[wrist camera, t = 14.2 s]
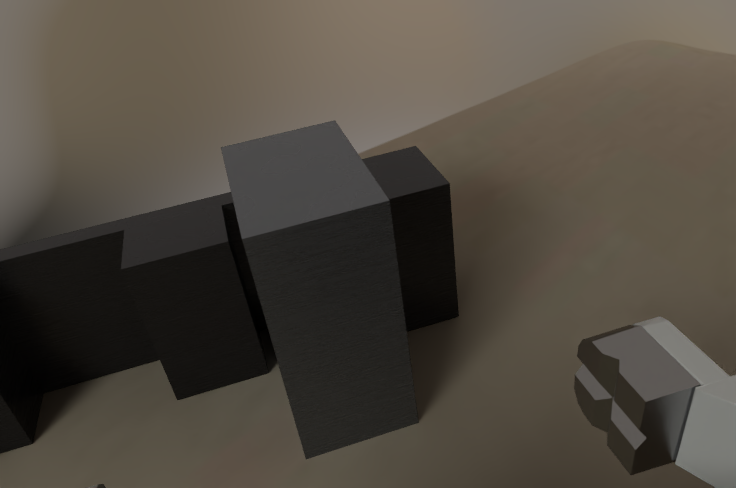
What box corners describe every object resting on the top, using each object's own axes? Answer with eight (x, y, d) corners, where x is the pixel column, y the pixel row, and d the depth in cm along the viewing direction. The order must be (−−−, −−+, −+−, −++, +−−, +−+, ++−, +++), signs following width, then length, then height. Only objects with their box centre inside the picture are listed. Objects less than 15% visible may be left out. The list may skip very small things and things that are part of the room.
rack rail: (-45, 466, 26) (-144, 338, 22) (-22, 397, 29) (-105, 275, 25) (458, 315, 29) (449, 183, 25) (427, 269, 32) (415, 145, 29)
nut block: (306, 459, 24) (241, 238, 18) (276, 342, 29) (220, 147, 24) (418, 423, 24) (389, 200, 19) (368, 315, 30) (335, 120, 25)
